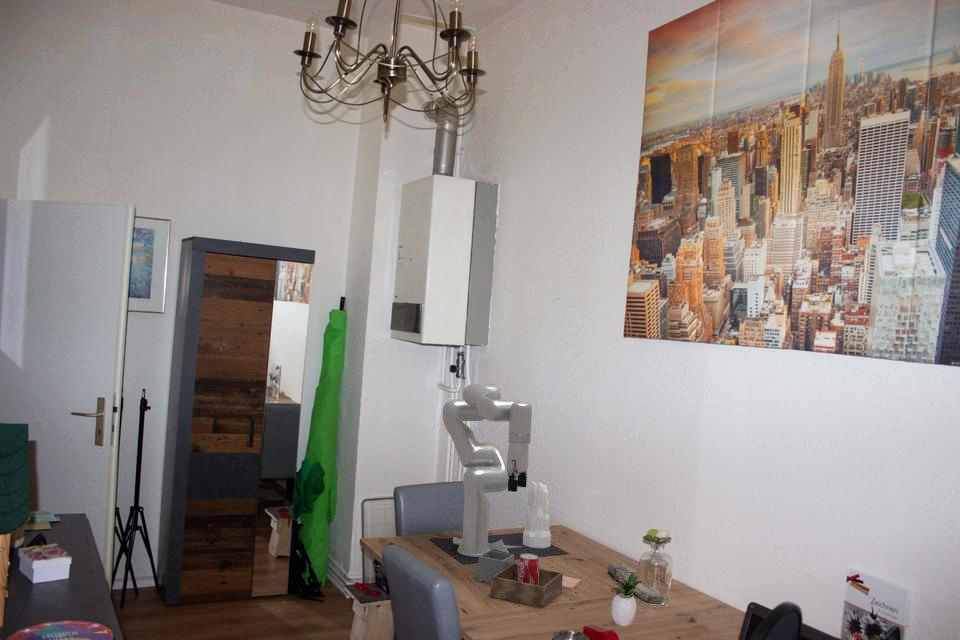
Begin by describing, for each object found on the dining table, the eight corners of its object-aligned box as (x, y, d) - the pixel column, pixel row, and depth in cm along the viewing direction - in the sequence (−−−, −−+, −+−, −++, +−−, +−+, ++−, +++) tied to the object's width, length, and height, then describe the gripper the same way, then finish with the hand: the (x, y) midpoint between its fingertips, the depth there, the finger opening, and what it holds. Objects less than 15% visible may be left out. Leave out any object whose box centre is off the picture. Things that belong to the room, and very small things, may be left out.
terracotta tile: (542, 584, 265) (543, 581, 265) (553, 576, 274) (553, 573, 274) (571, 590, 261) (572, 587, 261) (581, 581, 270) (581, 579, 270)
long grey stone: (640, 609, 251) (669, 610, 254) (643, 592, 251) (672, 594, 254) (599, 568, 286) (625, 569, 288) (601, 553, 285) (627, 555, 288)
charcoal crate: (477, 580, 264) (478, 556, 265) (488, 573, 273) (489, 550, 273) (502, 585, 261) (503, 561, 261) (512, 578, 269) (514, 554, 269)
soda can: (536, 599, 250) (538, 560, 250) (514, 596, 252) (516, 557, 252) (539, 591, 257) (541, 554, 257) (517, 589, 259) (519, 551, 259)
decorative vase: (532, 539, 320) (535, 476, 320) (555, 544, 314) (559, 480, 314) (517, 544, 312) (521, 479, 312) (540, 550, 305) (544, 484, 305)
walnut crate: (490, 596, 250) (491, 576, 250) (511, 581, 266) (513, 563, 266) (543, 607, 243) (544, 587, 243) (561, 591, 259) (562, 573, 259)
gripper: (517, 435, 283) (515, 484, 283) (500, 440, 267) (498, 491, 267) (537, 437, 281) (535, 486, 280) (521, 442, 264) (519, 494, 264)
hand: (517, 489), depth 273 cm, fingers open, 9 cm apart
